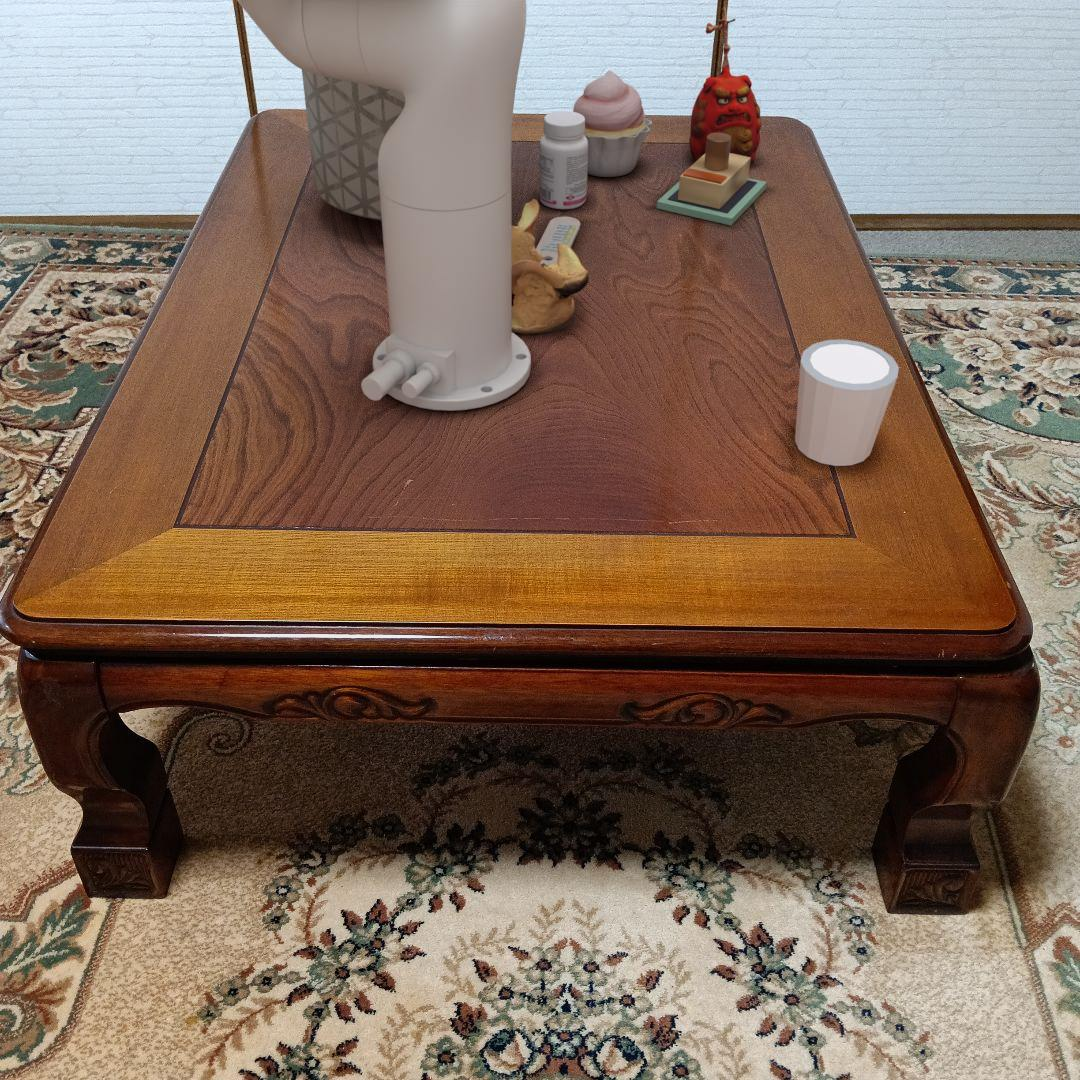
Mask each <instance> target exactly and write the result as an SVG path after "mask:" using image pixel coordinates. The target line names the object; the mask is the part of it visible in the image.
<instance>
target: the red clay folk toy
mask: <svg viewBox="0 0 1080 1080" xmlns="http://www.w3.org/2000/svg"><path fill="white" fill-rule="evenodd" d="M721 10H722V13H723V17H722V19H720V18H719V19H717V20H718V22H720V23H721V24H720V25H718V24H715V25H713V24H712V23H710V22H707V24H706V25H705V34H707V35H709V34H712V33H713V32H714V31H718V30H719V31H720V30H722V36H723V50H722V51H723V55H724V56H723V61H722V64H721V71H720V73H719V75H718V76H715V77H713V76H709V77H706V79H705V82H704V83H703V84H702V88H701V89H700V91H699V93H698V95H697V97H696V99H695V102H694V104H693V107H692V111H691V118H690V131H689V132H690V134H689V139H688V147H689V150H690V153H691V155H692V158H693V159H694V161H695V162H696V161H697V160H698V159H699V158H701V157H702V156H703V155H704V154H705V151H706V142H707V136H708V135H709V134H711V133H725V134H728V135H730V136H731V147H730V153H732V154H737V155H742V156H746V157H751V161H750V165H751V164H753V163H754V162H755V158H756V152H757V151H758V148H759V146H760V143H761V133H760V130H761V128H762V120H761V108H760V106H759V104H758V102H757V99H756V97H755V96H756V95H755V93H754V92H753V90H752V85H753V83H752V81H751V79H750V77H749V75H746V74H742V75H733V74H731V67H730V62H729V56H728V55H729V52H730V50H731V46H730V45H729V43H728V41H729V24H731V23H733V22H735V21H736V18H733V19H731V20H728V18H727V17H728V14H727V8H726V6H723V7H721Z"/></svg>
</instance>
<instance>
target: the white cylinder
mask: <svg viewBox="0 0 1080 1080" xmlns="http://www.w3.org/2000/svg"><path fill="white" fill-rule="evenodd" d="M799 362H800V365H799V377H798V391H797V392H798V393H797V405H796V421H795V433H794V442H795V445H796V447H797V449H798V451H800V452H801V454H803V455H804V456H806V458H807V459H808V458H809V459H810V460H813V461H815V462H818V463H820V464H823V465H829V466H833V467H845V466H854V465H856V464H860V463H862V462H864V461H865V460H867V458H868V457H870V456H871V453H872V451H873V447H874V445H875V442H876V439H877V437H878V433H879V431H880V428H881V426H882V422H883V419H884V417H885V414H886V411H887V408H888V405H889V402H890V399H891V397H892V394H893V391H894V388H895V385H896V383H897V380H898V376H899V370H900V367H899V365H898V363H897V362H896V360H895V358H894V357H893V356H892V355H890V354H888V352H886V351H885V350H883V349H881V348H880V347H877V346H875V345H873V344H869V343H866V342H863V341H857V340H851V339H826V340H823V341H819V342H815V343H812V344H811V345H809V347H807V348H805V350H803V352H802V354H801V358H800V361H799Z"/></svg>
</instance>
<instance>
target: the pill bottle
mask: <svg viewBox="0 0 1080 1080" xmlns="http://www.w3.org/2000/svg"><path fill="white" fill-rule="evenodd" d="M543 133H544V134H543V135H542V136H541V138H540V141H539V171H538V172H539V175H538V176H539V180H538V181H539V186H538V188H539V189H538V190H539V191H538V194H539V201H540V203H541V204H542V205H544V206H545V207H547V208H550V209H556V210H572V209H576V208H578V207H581V206H583V205H584V204H585V202H586V201H587V195H588V193H587V192H588V190H587V189H588V174H587V168H588V140H587V138H586V137H585V136H584V133H585V118H584V116H583V115H581V114H579V113H576V112H573V110H572V111H571V110H557V111H556V110H555V111H552V112H549V113H547V114H546V115H544V117H543Z"/></svg>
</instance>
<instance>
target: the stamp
mask: <svg viewBox="0 0 1080 1080" xmlns="http://www.w3.org/2000/svg"><path fill="white" fill-rule="evenodd" d="M730 147H731V136H730V135H728V134H725V133H711V134H709V135H708V136H707V142H706V151H705V154H704V155H703V156H702V157H701V158H699V159H698V160H697V161H695V162H694V163H693V164H691V165H690V166H689V167H688V168H687V169H686V170H685V171H684V172H683V173H682V174H680V176H679V180H678V182H679V192H678V200H681V201H686V202H690V203H694V204H699V205H703V206H708V207H712V208H716V209H720V208H721V207H722V206H723V205H724V204H725V203H726V202H727V201H728V200H729V199H730V198H731V197H732V196H733V195H734V194H735V193H736V192H737V191H738V190H739V189H740V188H741V187H742V186H743V185H744V184H745V183H746V182H747V181H748V178H749V175H750V169H751V168H750V167H751V164H750V161H751V157H746V156H742V155H737V154H732V153H730Z"/></svg>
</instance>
